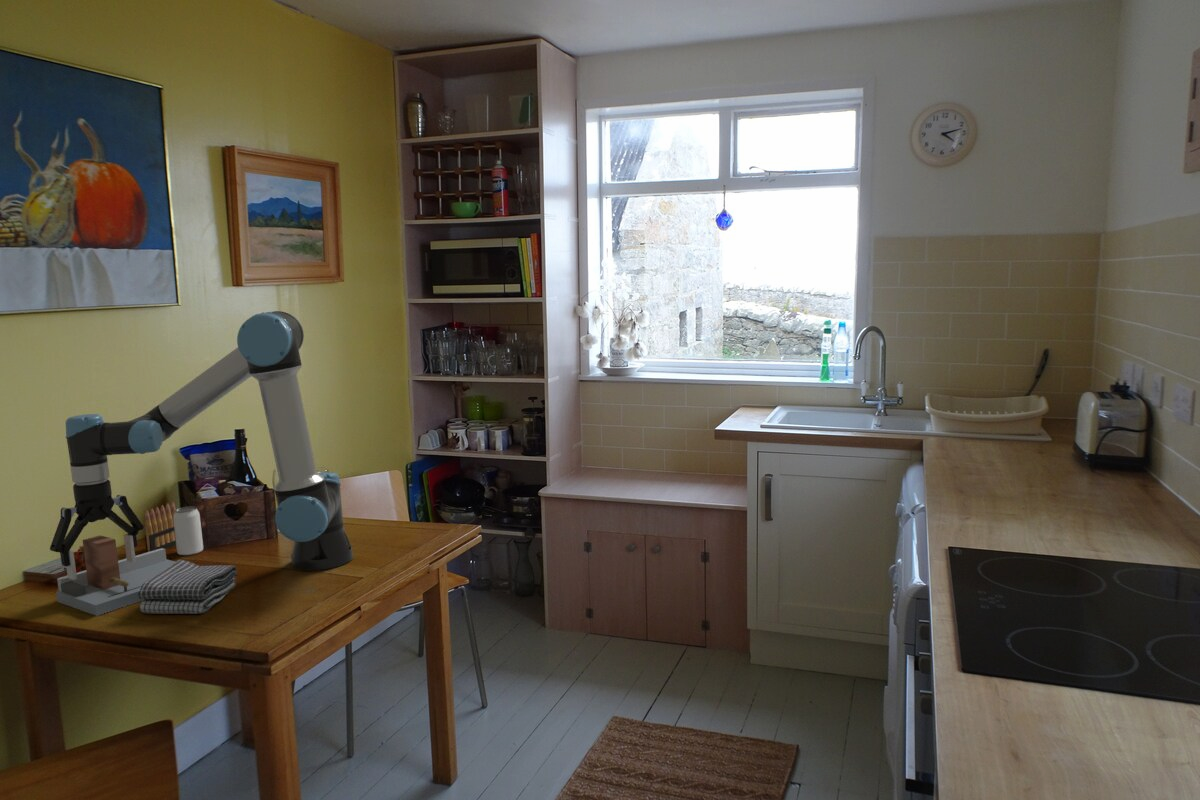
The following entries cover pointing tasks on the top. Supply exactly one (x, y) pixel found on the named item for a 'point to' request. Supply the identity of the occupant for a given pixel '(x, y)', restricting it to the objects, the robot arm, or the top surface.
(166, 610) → the towel
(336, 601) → the top surface
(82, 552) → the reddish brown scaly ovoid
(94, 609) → the board
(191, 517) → the can
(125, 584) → the brown blocky piece
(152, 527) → the ammunition clip
